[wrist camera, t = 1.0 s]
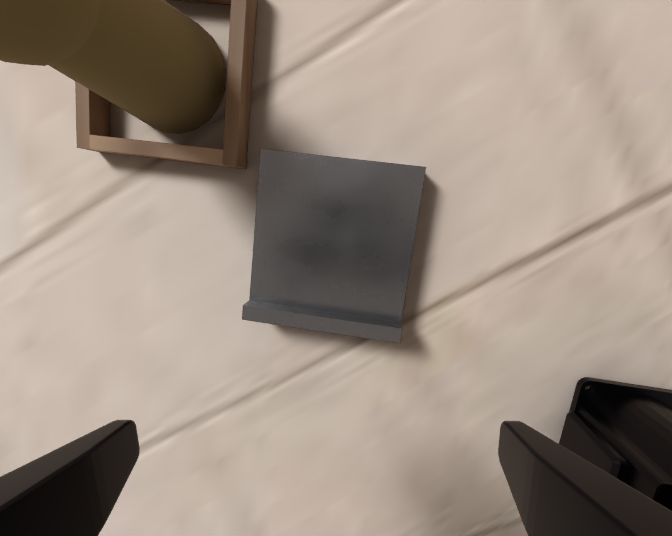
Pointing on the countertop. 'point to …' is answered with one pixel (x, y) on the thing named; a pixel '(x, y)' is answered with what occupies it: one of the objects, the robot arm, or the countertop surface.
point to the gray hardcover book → (333, 243)
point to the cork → (122, 55)
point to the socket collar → (237, 110)
